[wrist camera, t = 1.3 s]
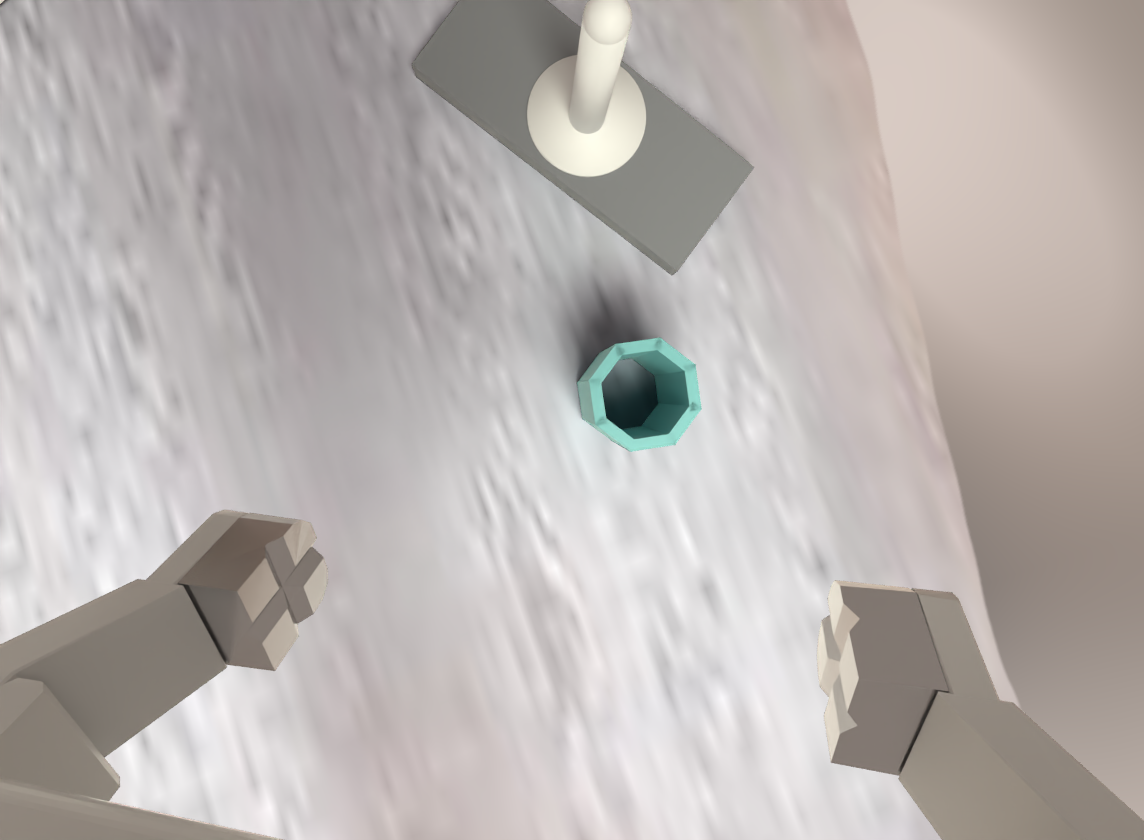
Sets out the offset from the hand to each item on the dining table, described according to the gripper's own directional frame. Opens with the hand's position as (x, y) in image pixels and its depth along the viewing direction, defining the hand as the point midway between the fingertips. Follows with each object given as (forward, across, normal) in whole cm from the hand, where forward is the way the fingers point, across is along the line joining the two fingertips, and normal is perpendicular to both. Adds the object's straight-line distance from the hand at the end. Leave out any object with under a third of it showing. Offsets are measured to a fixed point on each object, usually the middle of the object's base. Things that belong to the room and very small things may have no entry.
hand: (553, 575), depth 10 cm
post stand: (+36, +6, -1) cm, 37 cm away
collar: (+28, +3, +14) cm, 31 cm away
